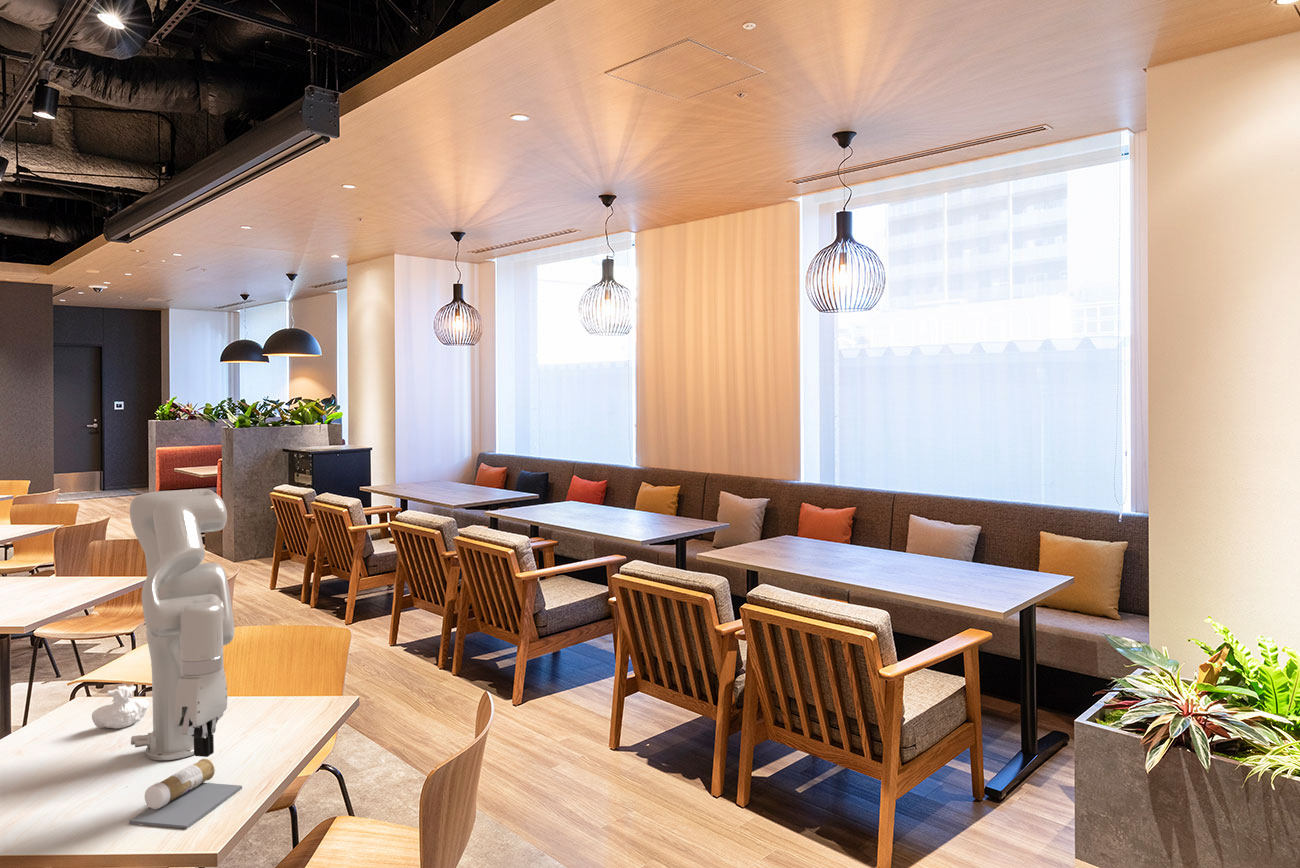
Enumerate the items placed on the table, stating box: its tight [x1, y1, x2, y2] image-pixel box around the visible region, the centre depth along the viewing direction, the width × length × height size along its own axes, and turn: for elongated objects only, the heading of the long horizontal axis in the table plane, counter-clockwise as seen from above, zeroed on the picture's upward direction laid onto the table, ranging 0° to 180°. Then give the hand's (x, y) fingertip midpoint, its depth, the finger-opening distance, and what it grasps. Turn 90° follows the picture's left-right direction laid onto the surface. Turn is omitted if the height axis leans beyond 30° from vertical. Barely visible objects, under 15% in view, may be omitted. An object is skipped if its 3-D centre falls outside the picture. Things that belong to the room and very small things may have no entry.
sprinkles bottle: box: [144, 758, 216, 809], centre depth 163 cm, size 5×5×13 cm
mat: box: [128, 782, 243, 830], centre depth 160 cm, size 16×12×1 cm
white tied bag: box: [91, 684, 150, 730], centre depth 198 cm, size 12×8×11 cm
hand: (203, 754), depth 164 cm, fingers closed
